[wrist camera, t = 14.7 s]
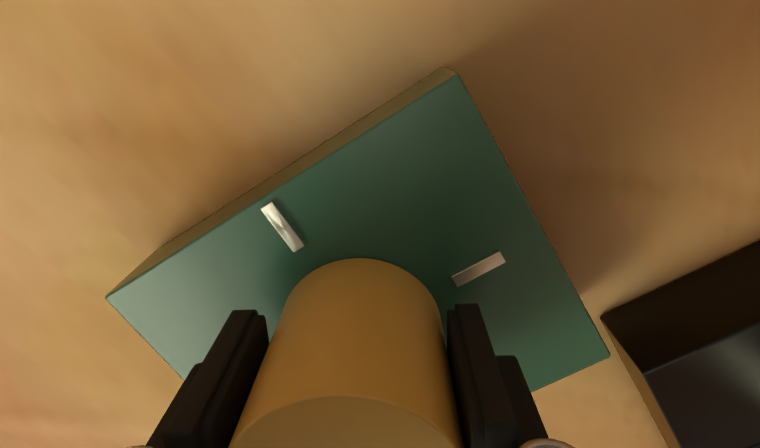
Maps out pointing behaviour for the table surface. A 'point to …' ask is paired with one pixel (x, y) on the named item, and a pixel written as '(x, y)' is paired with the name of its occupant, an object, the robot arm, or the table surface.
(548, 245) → the panel
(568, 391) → the table surface
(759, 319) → the panel
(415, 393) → the dial
